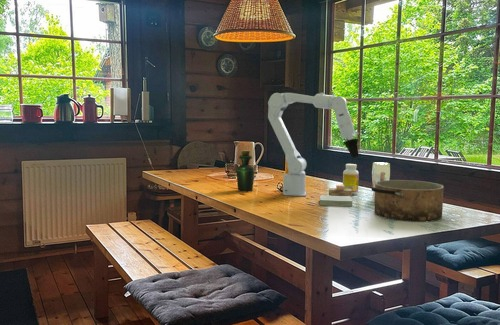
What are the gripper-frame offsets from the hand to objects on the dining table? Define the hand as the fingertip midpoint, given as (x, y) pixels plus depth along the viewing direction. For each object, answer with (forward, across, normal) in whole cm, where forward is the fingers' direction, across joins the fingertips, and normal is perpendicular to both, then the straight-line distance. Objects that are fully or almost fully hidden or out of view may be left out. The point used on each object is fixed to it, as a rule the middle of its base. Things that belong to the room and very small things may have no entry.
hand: (355, 156), depth 193 cm
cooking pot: (+24, -27, -10) cm, 37 cm away
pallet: (+15, 0, +11) cm, 18 cm away
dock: (+15, -11, +13) cm, 22 cm away
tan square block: (+11, 0, +10) cm, 15 cm away
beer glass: (+20, 0, -4) cm, 20 cm away
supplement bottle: (+16, +13, +6) cm, 21 cm away
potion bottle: (+1, +11, +50) cm, 51 cm away
